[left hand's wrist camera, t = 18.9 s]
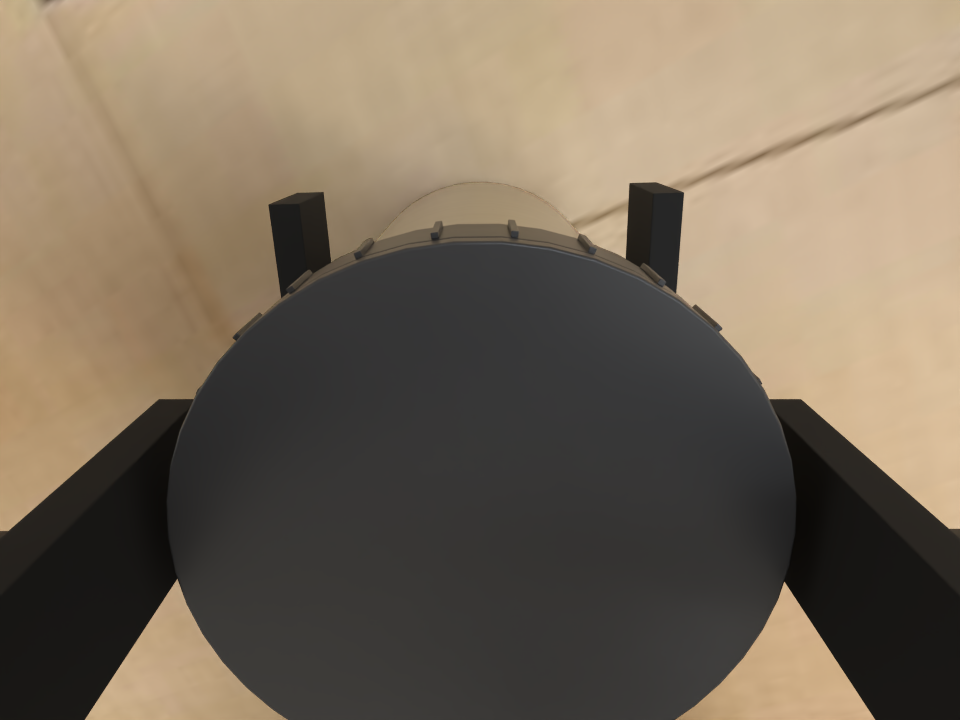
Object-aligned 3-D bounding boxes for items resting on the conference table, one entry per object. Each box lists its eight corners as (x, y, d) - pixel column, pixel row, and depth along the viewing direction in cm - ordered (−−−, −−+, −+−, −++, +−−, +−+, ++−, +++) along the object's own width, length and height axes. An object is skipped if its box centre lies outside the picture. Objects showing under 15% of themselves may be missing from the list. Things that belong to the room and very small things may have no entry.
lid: (379, 765, 14) (367, 843, 13) (85, 385, 11) (24, 427, 10) (828, 596, 13) (876, 661, 11) (632, 100, 10) (660, 97, 8)
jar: (557, 146, 23) (675, 189, 9) (621, 367, 26) (784, 654, 12) (328, 228, 24) (121, 380, 10) (414, 432, 27) (344, 767, 13)
